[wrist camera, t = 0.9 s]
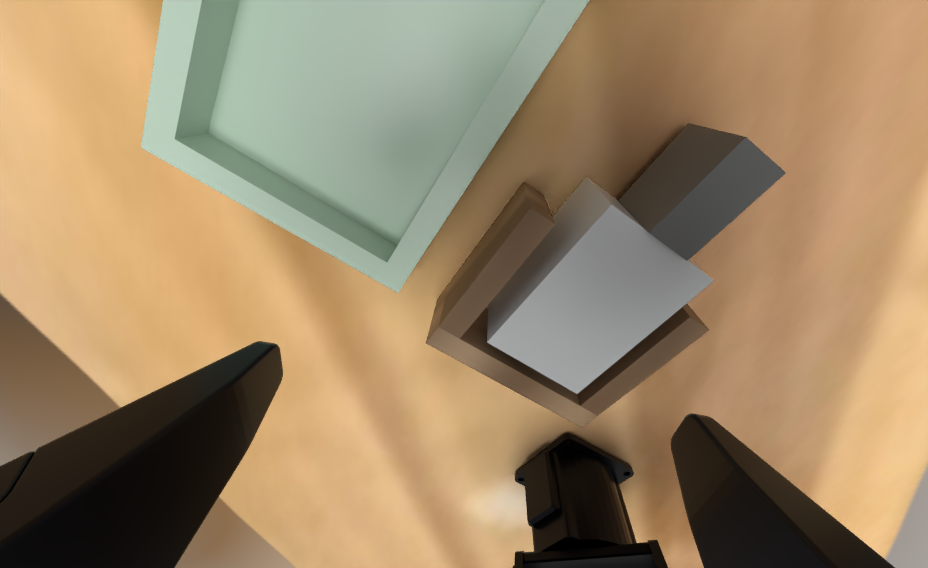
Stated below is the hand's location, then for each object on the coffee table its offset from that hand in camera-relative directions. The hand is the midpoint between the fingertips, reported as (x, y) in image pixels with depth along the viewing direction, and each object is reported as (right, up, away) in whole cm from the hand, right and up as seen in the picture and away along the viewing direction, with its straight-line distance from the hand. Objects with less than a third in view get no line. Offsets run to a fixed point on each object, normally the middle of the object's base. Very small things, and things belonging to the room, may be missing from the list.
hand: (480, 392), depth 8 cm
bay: (+4, +2, +12) cm, 13 cm away
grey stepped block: (+7, +5, +11) cm, 14 cm away
